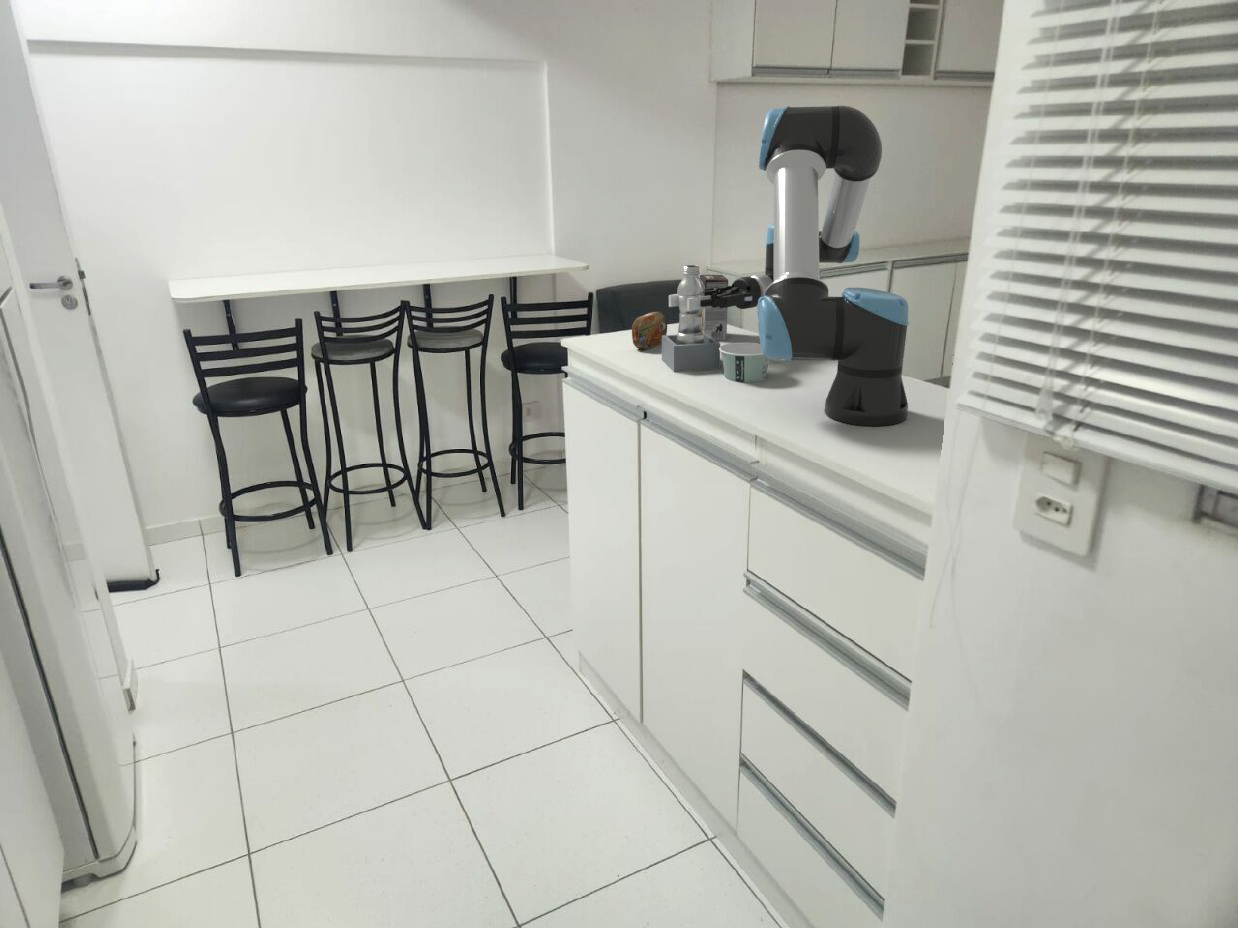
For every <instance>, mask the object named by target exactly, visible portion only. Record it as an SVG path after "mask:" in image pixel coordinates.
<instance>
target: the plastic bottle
mask: <svg viewBox="0 0 1238 928" xmlns="http://www.w3.org/2000/svg"><path fill="white" fill-rule="evenodd" d="M682 270H683V272H682V275H683V278H682V279H681V281H680V282H679V284H678V286H677V288H676V289H677V291H676V292H677V293H676V294H678V301H679V306H678V312H679V314H678V317H679V320H678V321H679V322H678V330H677V331H678V332H677V334H676V335H677V340H676V342H677V345H687V344H703V343H704V335H703V327H702V310H703V309H698V310H691V311H688V310H687V298H694V297H701V296H704V295H705V294H704V293H705V286H704V284H703V282H702V281H701V279H700V275H701V274H700V273H701V272H700V265H697V264H688V265H687V264H686V265H683V267H682Z"/></svg>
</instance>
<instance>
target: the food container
mask: <svg viewBox="0 0 1238 928" xmlns="http://www.w3.org/2000/svg"><path fill="white" fill-rule="evenodd" d="M719 350H720V356H721V360H722V367H723V373H724V375H723V376H724V378H725V379H726V380H729V381H732V382H738V383H739V382H740V383H753V382H760V381H764V380H766V377H767V373H768V369H769V365H770V360H771V359H769V358H767V357H766V356H765V355H764V353H763V351H762V348H761V343H758V342H747V341H746V342H743V341H742V342H732V343H725V344H722V345H720V348H719Z"/></svg>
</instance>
